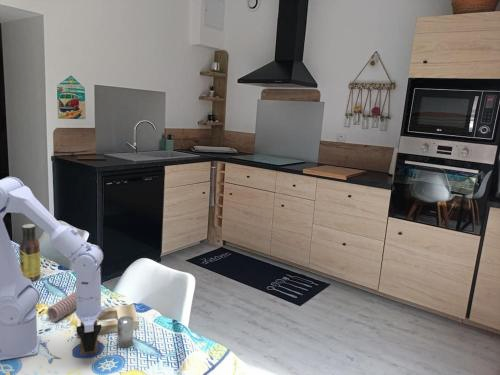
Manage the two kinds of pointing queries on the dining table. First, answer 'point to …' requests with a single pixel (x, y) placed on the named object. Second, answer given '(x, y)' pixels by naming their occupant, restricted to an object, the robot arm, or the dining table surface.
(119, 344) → the clear glass
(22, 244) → the sauce bottle
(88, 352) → the square peg
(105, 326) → the socket board
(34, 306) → the robot arm
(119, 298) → the dining table surface
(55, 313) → the coil
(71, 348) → the dining table surface
